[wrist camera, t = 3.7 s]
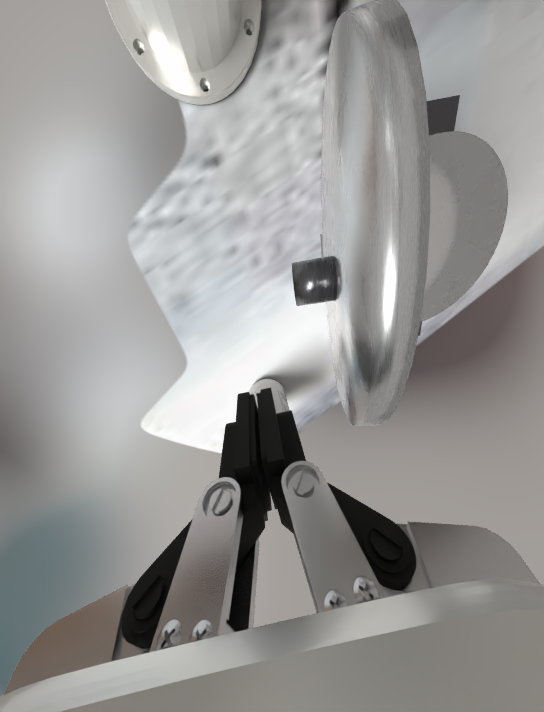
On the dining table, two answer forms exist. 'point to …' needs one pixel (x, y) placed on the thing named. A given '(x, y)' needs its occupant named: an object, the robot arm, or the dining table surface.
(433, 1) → the dining table surface
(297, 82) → the dining table surface
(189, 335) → the dining table surface
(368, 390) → the lid
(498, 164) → the pot
